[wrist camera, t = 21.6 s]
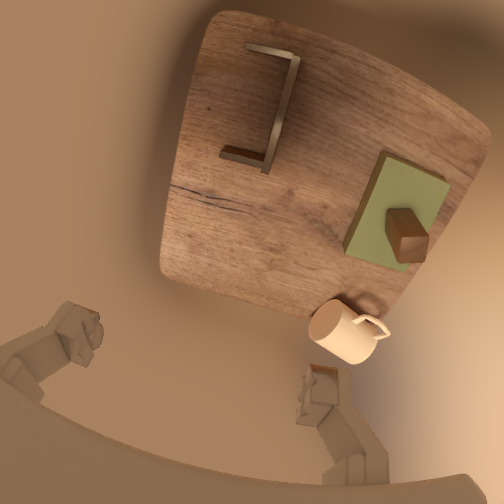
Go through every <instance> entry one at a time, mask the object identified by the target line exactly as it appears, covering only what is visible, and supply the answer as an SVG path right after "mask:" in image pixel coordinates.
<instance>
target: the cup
mask: <svg viewBox="0 0 504 504" xmlns="http://www.w3.org/2000/svg"><path fill="white" fill-rule="evenodd" d="M365 319H368V320H369V321H371V322H373V323H375V324H377V325H378V326H380V327H381V328H382V330H383V331H384V332H385V334H379V335H378V334H377V331H376V329H375V328H374V327H373V326H372V325H370V324H369V323H368V322H366V321H365ZM308 334H309V337H310V338H311V339H312V340H313V341H315V342H316V343H318V344H319V345H321V346H322V347H324V348H326V349H327V350H329V351H330V352H332V353H333V354H335V355H337V356H338V357H340V358H341V359H343V360H345V361H346V362H348V363H350V364H358V363H361V362H362V361H364V360H365V359H367V358H368V357H369V356H370V355H371V353H372V352H373V350H374V349H375V347H376V344H377V340H379V339H382V338H385V337H388V336H389V335H390V334H391V332H390V330H389V329H388V328H387V327H386V325H385V324H384V323H383V322H381V321H379V320H378V319H376V318H374V317H373V316H371V315H365V314H363V315H360V316H359V315H357V314H356V313H355V312H354V311H352V310H351V309H350V308H349V307H347V306H346V305H345V304H343V303H342V302H341V301H339V300H337V299H333V300H330V301H328V302H326V303H324V304H323V305H322V306H321V307H320V308H319V309H318V310H317V311H316V313H315V314H314V316H313V317H312V319H311V321H310V324H309V328H308Z"/></svg>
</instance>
